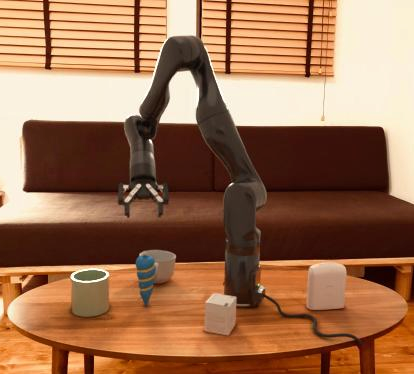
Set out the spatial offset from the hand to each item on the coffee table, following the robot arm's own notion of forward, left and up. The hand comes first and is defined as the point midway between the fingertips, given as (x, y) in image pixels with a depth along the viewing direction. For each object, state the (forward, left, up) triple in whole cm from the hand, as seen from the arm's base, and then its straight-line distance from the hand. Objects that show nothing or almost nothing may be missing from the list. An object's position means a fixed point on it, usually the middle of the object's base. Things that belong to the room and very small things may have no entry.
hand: (144, 216), depth 128 cm
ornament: (-6, +10, -22) cm, 24 cm away
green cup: (+6, +17, -21) cm, 28 cm away
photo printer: (-50, -8, -22) cm, 55 cm away
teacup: (-1, -6, -22) cm, 22 cm away
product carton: (-28, +14, -22) cm, 38 cm away
